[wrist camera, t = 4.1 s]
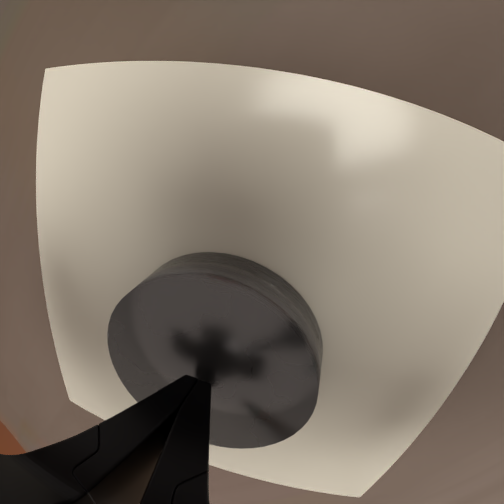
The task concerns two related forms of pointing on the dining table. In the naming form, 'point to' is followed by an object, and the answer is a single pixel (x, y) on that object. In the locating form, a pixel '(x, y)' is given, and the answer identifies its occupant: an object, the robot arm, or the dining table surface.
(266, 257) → the block
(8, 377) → the dining table surface
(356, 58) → the dining table surface
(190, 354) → the plunger
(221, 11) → the dining table surface
